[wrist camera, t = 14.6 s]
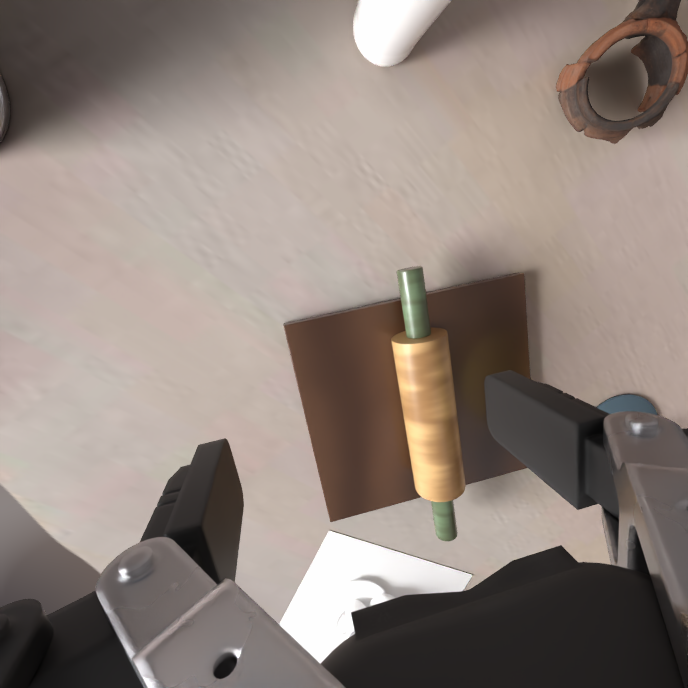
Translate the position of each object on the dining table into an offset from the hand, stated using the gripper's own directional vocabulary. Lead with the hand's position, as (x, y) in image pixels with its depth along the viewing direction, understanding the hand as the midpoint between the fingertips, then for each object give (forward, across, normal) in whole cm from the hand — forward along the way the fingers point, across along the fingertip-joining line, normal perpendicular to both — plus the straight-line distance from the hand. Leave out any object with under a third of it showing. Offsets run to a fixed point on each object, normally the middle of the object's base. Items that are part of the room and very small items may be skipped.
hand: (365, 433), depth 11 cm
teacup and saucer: (+25, 0, +39) cm, 46 cm away
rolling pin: (+23, -10, +12) cm, 28 cm away
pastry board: (+24, -10, +12) cm, 29 cm away
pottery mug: (+24, -31, -16) cm, 43 cm away
